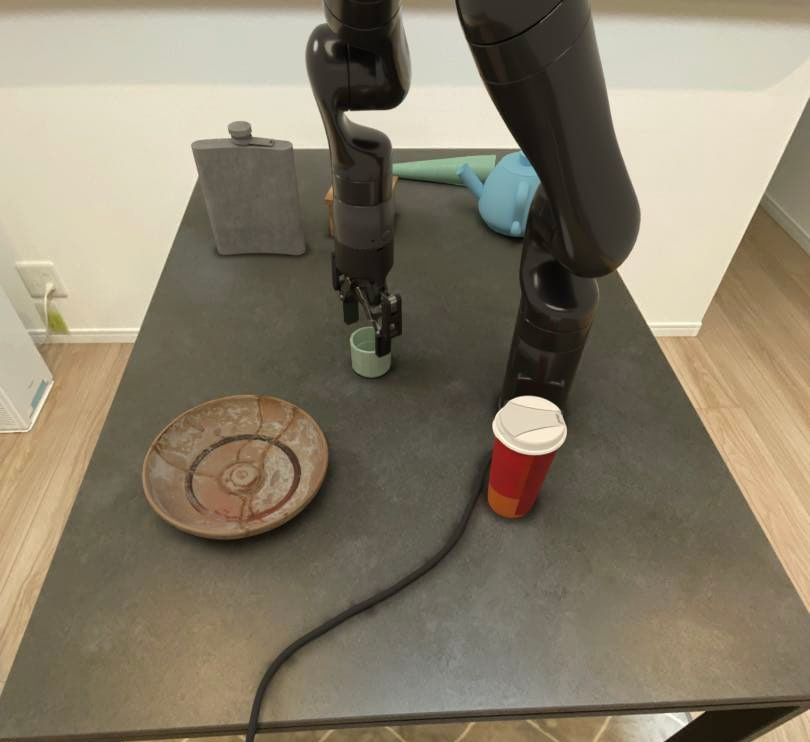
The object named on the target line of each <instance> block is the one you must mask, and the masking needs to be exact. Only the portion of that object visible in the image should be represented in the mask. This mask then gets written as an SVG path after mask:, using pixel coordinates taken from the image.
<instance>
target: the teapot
mask: <svg viewBox="0 0 810 742" xmlns="http://www.w3.org/2000/svg"><path fill="white" fill-rule="evenodd" d="M456 174H457V175H458V177H459V178H460V179H461V180H462V181H463V183H464V184H465V185H466V186H465V187H466V188H467V189H468V190H469V192H470V193H471V194H472V195H473V196H474V198H475V199H476V201H478V203H477V208H478V213H479V215H480V216H481V218H482V220H483V221H484V222H485V224H486V225H487V226H488V228H490V229H491V230H493V231H494V232H495V233H497V234H498V233H499V234H501V235H503V236H508V237H513V238H514V237H515V238H524V234H525V227H526V221H527V216H528V211H529V208H530V204H531V201H532V198H533V196H534V193H535V191H536V189H537V187H538V185H539V183H540V179H539V178H538V176H537V174H536V172H535V170H534V169H533V167H532V166H531V164H530V162H529V161H528V159H527V158H526V156H525V155H524V153H523V152H522V150H521V149H520V150H519V151H516V152H510V153H508V154H506V155H504V156H503V157H502V158H501V159H500V160H499V161H498V163H496V164H495V167H494V169H493V170H492V172H491V173H490V175H489V176H488V178H487V179H486V181H485V183H484V185H483V184H482V183H481V182H480V180H479V179H478V177H477V176H476V175H475V173H474V172H473V171H472V169H471V168H470V167H469V165H468V164H467V163H465V164H463V165H462V166H461V167H460V168H459V169H458V171H457V173H456Z"/></svg>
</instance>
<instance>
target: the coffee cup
mask: <svg viewBox="0 0 810 742" xmlns="http://www.w3.org/2000/svg"><path fill="white" fill-rule="evenodd" d="M563 416H564V415H563ZM563 416H562V415H561V411H560V409H559V408H558V407H557V406H556V405H554V404H553V403H552V402H550V401H548V400H546V399H543V398H540V397H535V396H522V397H517V398H514V399H512V400H510V401H509V402H508V403H507V404H506V405H505V406H504V407H503V408H502V409H501V410H500V411H499V410H498V412H497V413H496V415H495V417H494V419H493V421H492V425H491V426H492V432H493V434H494V441H493V447H492V449H493V455H492V461H491V462H490V472H489V479H488V488H487V490H488V491H487V502H488V505H489V507H490V508H491V509H492V511H493V512H495V513H496V514H497V515H500V516H501V517H503V518H509V519H518V518H521V517H523V516H526V514H528V513H529V512H530V511H531V509H532V507H533V506H534V503H535V502H536V499H537V498H538V495H539V493H540V491H541V488H542V486H543V483H544V482H545V480H546V477H547V475H548V473H549V470H550V468H551V466H552V464H553V461H554V458H555V456H556V454H557V452H558V450H559V448H560V447H562V446H563V444H564V442H565V441H566V438H567V434H568V433H567V432H568V427H567V425H566V422H565V419H564V417H563Z"/></svg>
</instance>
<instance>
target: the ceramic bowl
mask: <svg viewBox="0 0 810 742" xmlns="http://www.w3.org/2000/svg"><path fill="white" fill-rule="evenodd" d="M144 457H145V458H144V460H143V465H142V471H141V472H142V473H141V481H142V482H141V483H142V488H143V491H144V494H145V497H146V500H147V502H148V504H149V505H150V507H151V508H152V509H153V511H154V512H155V513H156V514H157V515H158V516H159V517H160V518H161V519H162V520H163V521H164V522H166V523H167V524H168V525H170V526H171V527H173V528H175V529H177V530H179V531H182V532H184V533H187V534H188V535H189V534H190V535H193V536H196V537H200V538H204V539H205V538H206V539H210V540H212V539H213V540H238V539H245V538H249V537H250V538H251V537H253V536H257V535H261V534H263V533H267V532H269V531H272V530H274V529H277V528H278V527H281V526H282V525H284V524H286V523H288V522H289V521H290V520H292V519H293V518H294V517H296V516H297V515H299V514H300V513H301V512H302V511H303V510H304V509H306V507H307V506H309V504H310V503H311V502H312V501H313V499H314V498H315V497H316V496H317V494H318V493H319V491H320V489H321V487H322V485H323V484H324V481H325V479H326V475H327V472H328V467H329V447H328V443H327V440H326V437H325V434H324V432H323V430H322V429H321V427H320V426H319V424H318V423H317V421H316V420H315V419H314V418H313V417H312V416H311V415H310V414H308V412H306V411H305V410H304V409H302V408H300V406H297V405H296V404H294V403H291V402H289V401H287V400H284V399H281V398H278V397H274V396H270V395H263V394H237V395H230V396H224V397H219V398H215V399H212V400H209V401H206V402H203V403H201V404H199V405H197V406H194V407H192V408H190V409H188V410H186V411H185V412H182V413H181V414H179V415H178V416H177V417H176V418H174V419H172V421H170V422H169V423H168V424H167V425H166V426H165V427H164V428H163V429H162V430H161V431H160V432H159V433H158V434H157V436H156V437H155V439H154V440H153V441H152V443H151V445H150V447H149V449H148V451H147V453H146V454H145V456H144Z"/></svg>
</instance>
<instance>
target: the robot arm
mask: <svg viewBox="0 0 810 742" xmlns="http://www.w3.org/2000/svg"><path fill="white" fill-rule="evenodd" d="M453 4H454V9H455V12H456V17H457V20H458V23H459V27H460V29H461V31H462V34H463V35H464V39H465V42H466V44H467V46H468V49H469V51H470V54H471V57H472V59H473V62H474V65H475V68H476V70H477V72H478V75H479V77H480V80H481V82H482V84H483V86H484V88H485V90H486V92H487V94H488V96H489V98H490V100H491V102H492V104H493V105H494V107H495V109H496V111H497V112H498V115H499V116H500V118H501V120H502V121H503V123H504V124H505V126H506V128H507V129H508V131H509V133H510V134H511V136H512V138H513V140H514V141H515V142H516V144H517V145H518V147H519V149H520V150H522V152H523V153H524V155H525V156H526V158H527V159H528V161H529V162H530V164H531V166H532V167H533V169H534V170H535V172H536V174H537V176H538V178H539V179H540V183H539V185H538V187H537V189H536V191H535V193H534V196H533V198H532V201H531V204H530V208H529V211H528V216H527V221H526V227H525V234H524V237H523V239H522V240H523V241H522V247H521V255H520V263H519V270H518V280H519V289H520V299H519V304H518V309H517V315H516V319H515V324H514V329H513V332H512V333H513V334H512V339H511V344H510V349H509V353H508V359H507V363H506V368H505V373H504V377H503V383H502V389H501V393H500V397H499V399H498V405H497V409H498V412H499V411H500V410H501V409H502V408H503V407H504V406H505V405H506V404H507V403H508V402H509V401H510V400H512V399H514V398H517V397H522V396H535V397H540V398H543V399H546V400H548V401H550V402H552V403H553V404H554V405H556V406H557V407H558V408H559V409H560V411H561V415H562V416H564V411H565V407H566V404H567V401H568V399H569V395H570V392H571V389H572V386H573V383H574V379H575V378H576V377H575V376H576V374H577V370H578V367H579V364H580V362H581V358H582V355H583V351H584V349H585V345H586V343H587V340H588V339H589V338H588V337H589V334H590V331H591V328H592V325H593V322H594V319H595V317H596V313H597V311H598V307H599V303H600V288H599V285H598V282H597V279H599V278H602V277H605V276H607V275H610V274H611V273H613V272H615V271H616V270H617V269H619V268H620V267H621V266H622V265H623V263H624V262H625V261H626V260H627V259H628V257H629V256H630V254H631V252H632V251H633V249H634V248H635V245H636V243H637V240H638V236H639V233H640V229H641V221H642V212H641V211H642V210H641V207H640V202H639V199H638V196H637V193H636V190H635V188H634V185H633V182H632V180H631V179H632V178H631V175H630V174H629V171H628V169H627V166H626V163H625V160H624V157H623V155H622V152H621V148H620V145H619V142H618V141H619V140H618V139H617V134H616V130H615V127H614V121H613V117H612V111H611V106H610V99H609V94H608V89H607V84H606V78H605V73H604V69H603V64H602V60H601V54H600V50H599V46H598V40H597V35H596V29H595V25H594V16H593V11H592V6H591V1H590V0H453ZM321 7H322V12H323V16H324V20H325V22H323V23H320V24H317V25H316V26H315V27H314V28H313V30H311V33H310V34H309V36H308V39H307V42H306V45H305V51H304V63H305V70H306V74H307V78H308V83H309V85H310V89H311V92H312V96H313V98H314V101H315V104H316V107H317V109H318V112H319V116H320V118H321V121H322V125H323V128H324V132H325V136H326V140H327V146H328V152H329V161H330V171H331V172H330V173H331V186H332V188H333V203H332V218H333V231H334V236H333V245H334V250H333V251H330V261H331V262H330V263H331V281H332V283H331V284H332V288H333V290H334V291H335V292H339V294H338V296H339V299H340V301H341V302H342V312H343V313H342V314H343V322H344V324H345V325H347V326H351V325H353V324H356V323H358V322H359V321H360V310H359V309H360V308H359V304H360V305H361V306H362V309H363V312H364V315H365V317H366V319H367V320H366V321H368V322H371V324H372V327H374V330H375V333H376V334H375V354H376V355H377V356H378V357H379V358H381V357H383V356H385V355H388V354H389V353H390V352H391V353H392V339H395V338H397V337H400V336H402V335H403V308H402V307H403V302H402V301H403V299H402V296H401V294H400V293H395V294H391V293H390V292H389V288H388V284H387V276H388V274H389V273H390V272H391V270H392V269H393V268H394V262H395V216H394V203H393V192H392V187H393V164H394V150H393V144H392V141H391V139H390V138H389V136H388V135H387V134H386V133H385V132H383V131H381V130H379V129H376V128H374V127H370V126H366V125H362V124H359V123H356V122H354V121H352V120H351V119H350V118H349V117H348V116H347V115H346V112H369V111H370V112H372V111H373V112H377V111H379V112H380V111H382V112H383V111H390V110H393V109H396V108H397V107H399V106H400V105H401V104H402V103H403V102H404V101H405V99H406V98H407V96H408V94H409V92H410V90H411V85H412V79H413V78H412V76H413V74H412V73H413V72H412V71H413V70H412V69H413V67H412V59H411V53H410V47H409V42H408V38H407V35H406V31H405V27H404V22H403V0H321ZM342 276H343V278H341V279H340V277H342ZM377 307H379V311H376V312H374V311H373V310H372V309H374V308H377ZM380 318H381V324H380V322H379V321H380V320H379V319H380ZM492 455H493V448H492V449H490V451H489V453H487V456H486V458H484V459H485V460H484V461H483V463H482V465H481V467H480V469H479V473H478V476H477V480H476V482H475V485H474V488H473V490H472V493H471V495H470V497H469V499H468V502H467V504H466V507H465V509H464V512H463V514H462V516H461V519H460V521H459V523H458V525H457V527H456V529H455V531H454V532H453V534H452V536H451V537H450V538H449V540H448V541H447V542H446V544H444V546H443V547H442V548H441V549H440V550H439V551H438V552H437V553H436V554H434V556H433V557H431V559H429V560H428V561H427V562H426V563H425V564H423V565H421V566H420V567H419V568H417V569H416V570H414V571H413V572H411V573H410V574H408V575H407V576H405V577H404V578H402V579H401V580H399V581H398V582H396V583H394V584H392V585H391V586H390V587H388V588H387V589H385V590H383V591H381V592H379V593H377V594H375V595H373V596H372V597H369V598H367V599H365V600H363V601H361V602H359V603H358V604H357V603H356V604H355V605H353V606H352V607H351V606H350V607H349V608H348V609H346V610H344V611H342V612H340V613H338V614H337V615H336V616H334V617H333V618H331V619H330V620H328V621H326V622H325V623H322V624H321V625H319V626H318V627H316V628H314V629H313V630H310V631H309V632H308V633H305V634H304V635H302V636H301V637H299V638H297V640H294V641H293V642H292V643H291V644H289V645H288V646H287V647H286V648H285V649H284V650H283V651H281V652H280V653H279V654H278V655H277V657H276V658H275V659H274V660H273V661H272V663H271V664H270V665H269V667H268V668H267V670H266V671H265V672H264V674H263V677H262V678H261V681H260V682H259V685H258V687H257V690H256V692H255V696H254V699H253V703H252V707H251V711H250V717H249V721H248V725H247V731H246V736H245V740H244V742H254V741H255V738H256V733H257V729H258V728H257V727H258V722H259V717H260V712H261V708H262V702H263V699H264V696H265V693H266V691H267V688H268V686H269V684H270V681H271V680H272V678H273V676H274V675H275V673H276V672H277V671H278V669H279V668H280V666H281V665H282V664H283V663H284V662H285V660H287V658H288V657H290V655H292V654H293V653H294V652H295V651H296V650H298V649H300V648H301V647H302V646H304V645H305V644H307V643H308V642H310V641H312V640H313V639H315V638H317V637H318V636H321V635H322V634H324V633H326V632H327V631H329V630H330V629H332V628H333V627H335V626H337V625H338V624H340V623H342V622H343V621H345V620H346V619H348V618H350V617H351V616H353V615H355V614H357V613H359V612H361V611H363V610H365V609H367V608H370V607H371V606H373V605H375V604H377V603H379V602H381V601H382V600H385V599H387V598H388V597H390V596H392V595H393V594H395V593H397V592H398V591H400V590H401V589H403V588H404V587H406V586H407V585H409V584H410V583H412V582H413V581H415V580H416V579H418V578H419V577H421V576H422V575H423V574H425V573H426V572H428V571H429V570H431V569H432V568H433V567H434V566H435V565H437V564H438V563H439V562H440V561H441V560H442V559H443V558H444V557H445V556H446V555H447V554H448V552H450V550H451V549H452V548H453V547H454V546H455V544H456V543H457V542H458V540H459V538H460V537H461V535H462V534H463V532H464V530H465V528H466V526H467V523H468V521H469V519H470V516H471V514H472V511H473V508H474V506H475V504H476V503H477V502H476V501H477V499H478V497H479V494H480V492H481V489H482V487H483V483H484V480H485V476H486V473H487V471H488V467H489V465H491V463H492Z"/></svg>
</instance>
